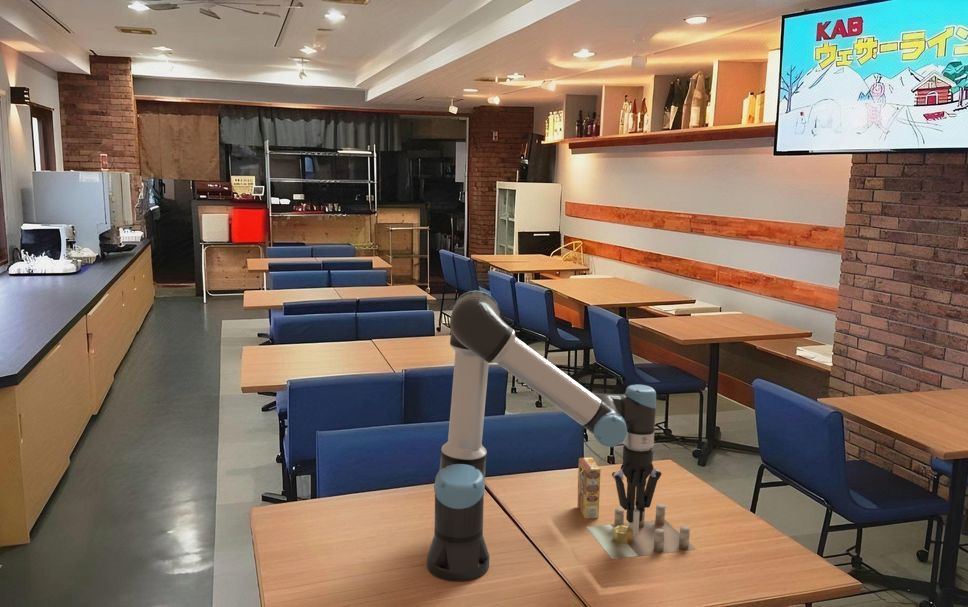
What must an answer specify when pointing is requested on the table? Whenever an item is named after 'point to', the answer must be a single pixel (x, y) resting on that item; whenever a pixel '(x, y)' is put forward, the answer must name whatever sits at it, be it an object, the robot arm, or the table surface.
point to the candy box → (588, 487)
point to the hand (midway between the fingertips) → (633, 532)
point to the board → (643, 536)
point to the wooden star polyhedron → (623, 534)
